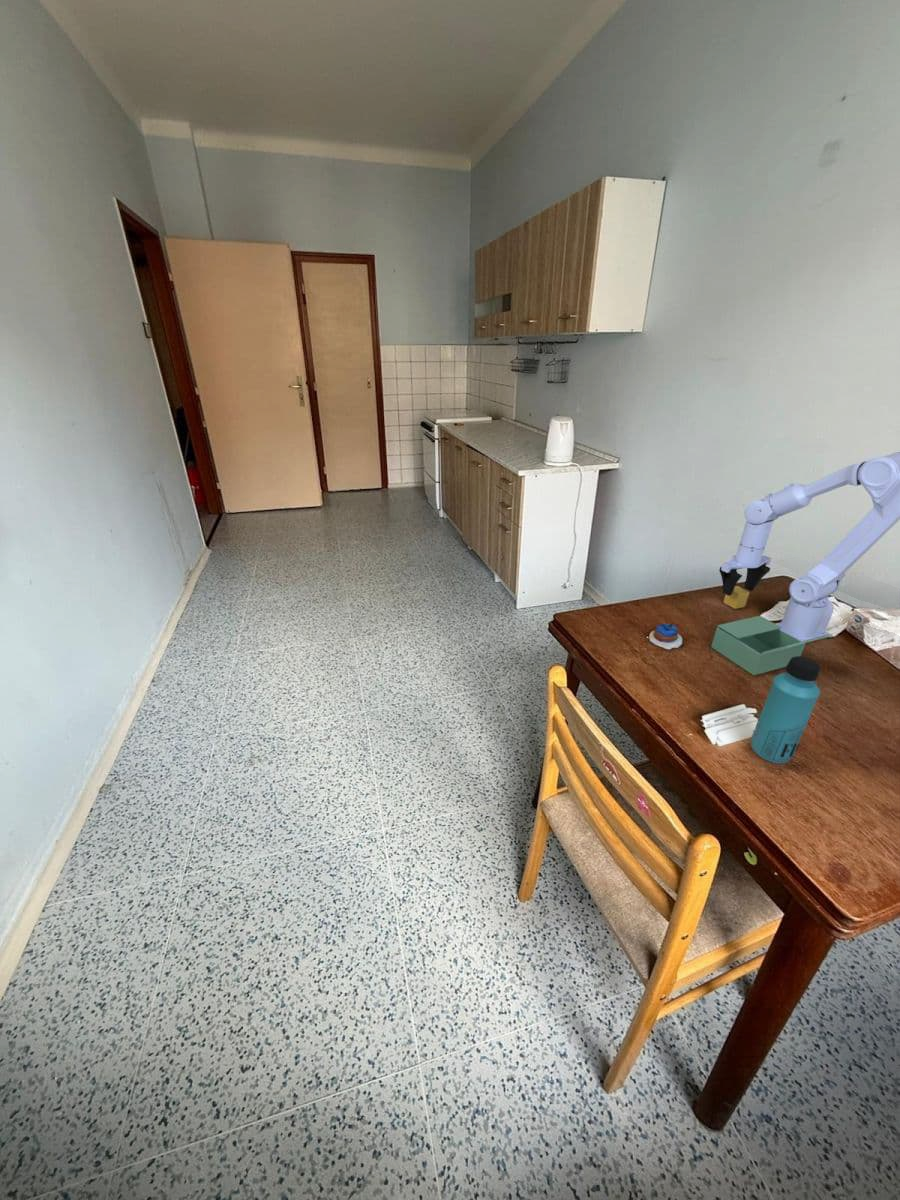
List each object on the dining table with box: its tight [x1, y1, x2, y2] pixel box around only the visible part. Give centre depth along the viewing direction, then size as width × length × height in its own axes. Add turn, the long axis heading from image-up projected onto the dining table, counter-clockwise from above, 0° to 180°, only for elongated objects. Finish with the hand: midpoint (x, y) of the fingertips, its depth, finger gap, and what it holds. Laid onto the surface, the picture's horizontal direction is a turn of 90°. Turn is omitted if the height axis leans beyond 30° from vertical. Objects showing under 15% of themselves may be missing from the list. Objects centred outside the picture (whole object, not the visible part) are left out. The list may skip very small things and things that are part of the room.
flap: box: [762, 634, 833, 653], centre depth 98 cm, size 13×6×1 cm
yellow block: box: [723, 585, 750, 610], centre depth 129 cm, size 4×4×5 cm
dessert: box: [648, 623, 683, 650], centre depth 114 cm, size 8×7×6 cm
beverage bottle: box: [749, 656, 821, 764], centre depth 77 cm, size 6×7×20 cm
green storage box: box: [711, 615, 807, 676], centre depth 107 cm, size 13×12×6 cm
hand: (737, 591), depth 128 cm, fingers open, 7 cm apart
